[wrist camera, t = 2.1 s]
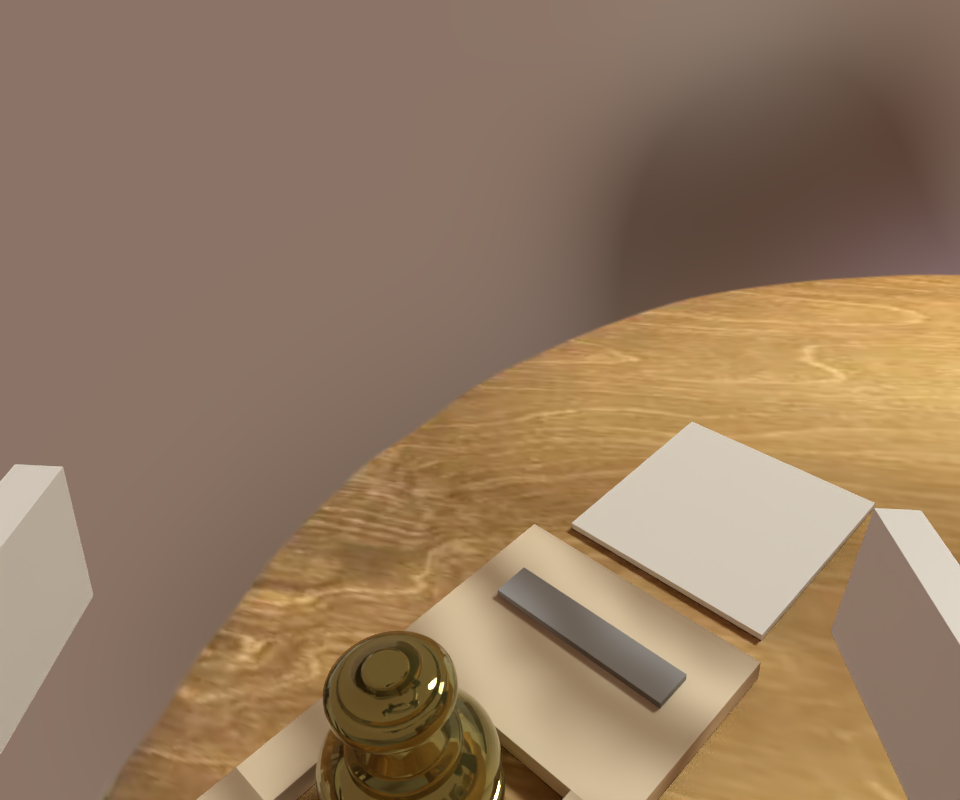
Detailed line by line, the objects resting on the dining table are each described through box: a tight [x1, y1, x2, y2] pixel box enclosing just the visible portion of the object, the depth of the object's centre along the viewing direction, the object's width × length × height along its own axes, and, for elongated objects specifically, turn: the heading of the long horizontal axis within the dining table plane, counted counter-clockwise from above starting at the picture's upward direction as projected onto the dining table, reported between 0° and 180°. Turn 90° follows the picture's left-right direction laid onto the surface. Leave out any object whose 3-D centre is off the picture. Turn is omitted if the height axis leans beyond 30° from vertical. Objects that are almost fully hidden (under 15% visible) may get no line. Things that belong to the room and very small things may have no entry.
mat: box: [572, 422, 875, 640], centre depth 48 cm, size 12×12×1 cm
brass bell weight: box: [316, 631, 506, 800], centre depth 33 cm, size 7×7×10 cm
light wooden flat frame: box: [197, 524, 761, 800], centre depth 38 cm, size 22×14×2 cm, turn 135°
